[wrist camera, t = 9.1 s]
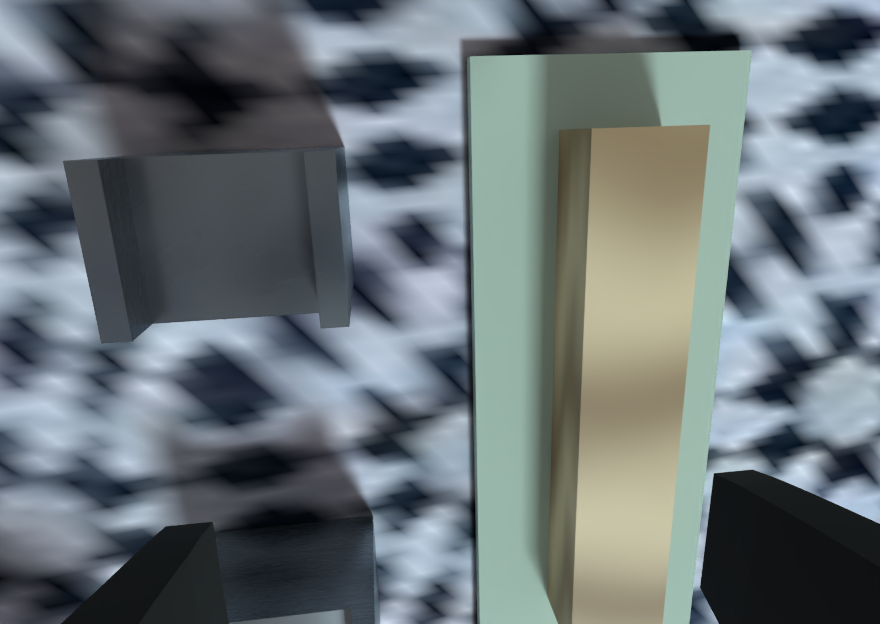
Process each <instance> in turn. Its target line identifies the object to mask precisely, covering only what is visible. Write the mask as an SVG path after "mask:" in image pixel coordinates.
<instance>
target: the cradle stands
mask: <svg viewBox="0 0 880 624" xmlns="http://www.w3.org/2000/svg"><path fill="white" fill-rule="evenodd" d="M63 163H64V168H65V172H66V177H67V182H68V187H69V191H70V196H71V201H72V206H73V210H74V215H75V220H76V225H77V229H78V234H79V239H80V244H81V248H82V253H83V258H84V263H85V267H86V272H87V277H88V282H89V286H90V291H91V296H92V301H93V305H94V310H95V315H96V320H97V324H98V329H99V334H100V339H101V343H114V342H129V341H133V340H134V339H136V338H137V337H138V336H139V335H140V334H141V333H142V332H144V331H145V330H146V329H147V328H148V327H149V326H150V325H152V324H154V323H170V322H185V321H200V320H216V319H231V318H247V317H262V316H277V315H293V314H308V313H319V317H320V327H321V328H336V327H349V324H350V313H351V302H352V291H353V280H354V265H353V252H352V239H351V226H350V213H349V200H348V187H347V174H346V161H345V148H344V147H322V148H294V149H267V150H239V151H212V152H184V153H157V154H145V155H132V156H120V157H107V158H95V159H82V160H70V161H63ZM216 547H217V553H218V559H219V565H220V572H221V578H222V584H223V590H224V597H225V603H226V609H227V615H228V622H229V624H380V602H379V589H378V576H377V563H376V550H375V537H374V524H373V516H369V517H359V518H350V519H340V520H330V521H320V522H310V523H300V524H290V525H280V526H271V527H261V528H251V529H241V530H231V531H221V532H220V533H219V535H218V538H217V541H216Z"/></svg>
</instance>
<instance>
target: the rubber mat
mask: <svg viewBox="0 0 880 624" xmlns="http://www.w3.org/2000/svg"><path fill="white" fill-rule="evenodd" d="M751 55H752V50H745V51H698V52H650V53H603V54H555V55H508V56H470V57H468V58H467V88H468V142H469V196H470V249H471V303H472V357H473V410H474V464H475V517H476V571H477V624H558V623H557V620H556V618H555V615H554V612H553V610H552V607H551V605H550V602H549V600H548V563H549V523H550V484H551V444H552V405H553V365H554V326H555V286H556V247H557V207H558V168H559V130H565V129H592V128H622V127H653V126H683V125H710V132H709V143H708V153H707V164H706V174H705V185H704V195H703V206H702V216H701V227H700V237H699V248H698V258H697V269H696V279H695V290H694V300H693V311H692V321H691V332H690V342H689V353H688V363H687V374H686V384H685V395H684V405H683V416H682V426H681V437H680V447H679V458H678V468H677V479H676V489H675V500H674V510H673V521H672V531H671V542H670V552H669V562H668V573H667V583H666V594H665V604H664V615H663V624H689V621H690V612H691V603H692V594H693V584H694V575H695V566H696V557H697V548H698V539H699V530H700V521H701V511H702V502H703V493H704V484H705V475H706V466H707V457H708V448H709V438H710V429H711V420H712V411H713V402H714V393H715V384H716V375H717V365H718V356H719V347H720V338H721V329H722V320H723V311H724V302H725V292H726V283H727V274H728V265H729V256H730V247H731V238H732V229H733V219H734V210H735V201H736V192H737V183H738V174H739V165H740V156H741V146H742V137H743V128H744V119H745V110H746V101H747V92H748V83H749V73H750V64H751Z"/></svg>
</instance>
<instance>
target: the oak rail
mask: <svg viewBox="0 0 880 624" xmlns="http://www.w3.org/2000/svg"><path fill="white" fill-rule="evenodd" d="M709 132H710V125H683V126H653V127H622V128H592V129H565V130H559V168H558V207H557V247H556V286H555V326H554V365H553V405H552V444H551V484H550V523H549V563H548V600H549V602H550V605H551V607H552V610H553V612H554V615H555V618H556V620H557V623H558V624H663V615H664V604H665V594H666V583H667V573H668V562H669V552H670V542H671V531H672V521H673V510H674V500H675V489H676V479H677V468H678V458H679V447H680V437H681V426H682V416H683V405H684V395H685V384H686V374H687V363H688V353H689V342H690V332H691V321H692V311H693V300H694V290H695V279H696V269H697V258H698V248H699V237H700V227H701V216H702V206H703V195H704V185H705V174H706V164H707V153H708V143H709Z"/></svg>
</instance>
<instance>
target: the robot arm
mask: <svg viewBox="0 0 880 624" xmlns="http://www.w3.org/2000/svg"><path fill="white" fill-rule="evenodd" d="M700 588H701V590H702V592H703V594H704V596H705V598H706V600H707V602H708V603H709V605H710V607H711V609H712V611H713V613H714V615H715V617H716V619H717V621H718V623H719V624H880V524H879V523H876V522H874V521H872V520H870V519H868V518H865V517H863V516H861V515H859V514H857V513H854V512H852V511H850V510H848V509H845V508H843V507H841V506H839V505H837V504H834V503H832V502H830V501H828V500H825V499H823V498H821V497H819V496H817V495H814V494H812V493H810V492H807V491H805V490H803V489H800V488H798V487H796V486H793V485H791V484H789V483H786V482H784V481H781V480H779V479H776V478H774V477H771V476H769V475H766V474H763V473H760V472H757V471H755V470H745V471H735V472H724V473H714V477H713V486H712V494H711V502H710V511H709V519H708V527H707V536H706V544H705V552H704V561H703V569H702V577H701V585H700ZM61 624H229V622H228V615H227V609H226V603H225V597H224V590H223V584H222V578H221V572H220V565H219V559H218V553H217V547H216V540H215V534H214V528H213V522H208V523H197V524H187V525H177V526H166V527H165V528H164V529H162V530H161V531H160V532H159V533H158V534H157V535H156V536H154V537H153V538H152V539H151V540H150V541H149V542H148V543H147V544H146V545H145V546H144V547H142V548H141V549H140V550H139V551H138V552H137V553H136V554H135V555H134V556H133V557H132V558H131V559H130V560H129V561H128V562H127V563H126V564H124V565H123V566H122V567H121V568H120V569H119V570H118V571H117V572H116V573H115V574H114V575H113V576H112V577H111V578H110V579H109V580H108V581H107V582H105V583H104V584H103V585H102V586H101V587H100V588H99V589H98V590H97V591H96V592H95V593H94V594H93V595H92V596H91V597H89V598H88V599H87V600H86V601H85V602H84V603H83V604H82V605H81V606H80V607H79V608H78V609H76V610H75V611H74V612H73V613H72V614H71V615H70V616H69V617H68V618H67V619H66V620H65V621H64V622H62V623H61Z"/></svg>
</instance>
